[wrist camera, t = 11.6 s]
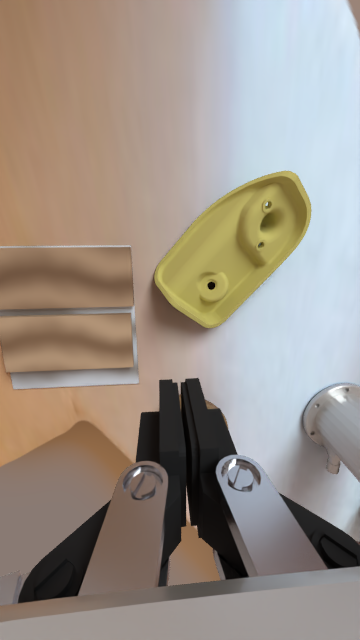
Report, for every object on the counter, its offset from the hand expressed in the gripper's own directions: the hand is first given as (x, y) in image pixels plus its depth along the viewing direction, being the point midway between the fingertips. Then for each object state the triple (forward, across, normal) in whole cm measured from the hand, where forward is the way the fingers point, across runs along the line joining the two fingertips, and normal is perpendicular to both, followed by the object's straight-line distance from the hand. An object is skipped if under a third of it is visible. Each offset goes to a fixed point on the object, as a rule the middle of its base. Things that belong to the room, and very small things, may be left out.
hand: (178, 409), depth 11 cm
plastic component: (+28, -9, -6) cm, 30 cm away
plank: (+27, +14, +6) cm, 31 cm away
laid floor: (+27, +14, +4) cm, 31 cm away
